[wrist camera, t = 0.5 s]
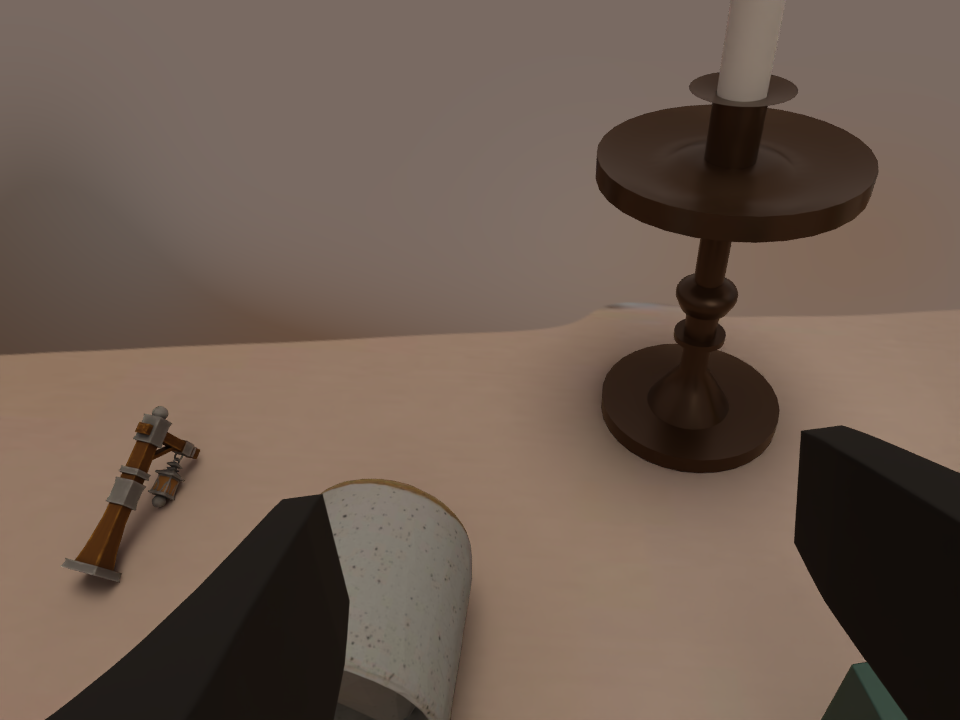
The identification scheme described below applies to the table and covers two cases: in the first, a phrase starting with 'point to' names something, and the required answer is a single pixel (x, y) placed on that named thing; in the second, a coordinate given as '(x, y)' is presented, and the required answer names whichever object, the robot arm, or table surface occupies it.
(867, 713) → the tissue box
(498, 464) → the table surface
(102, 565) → the wooden post with brackets
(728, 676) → the table surface
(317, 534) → the robot arm
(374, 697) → the ceramic mug
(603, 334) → the table surface
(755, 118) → the candlestick
